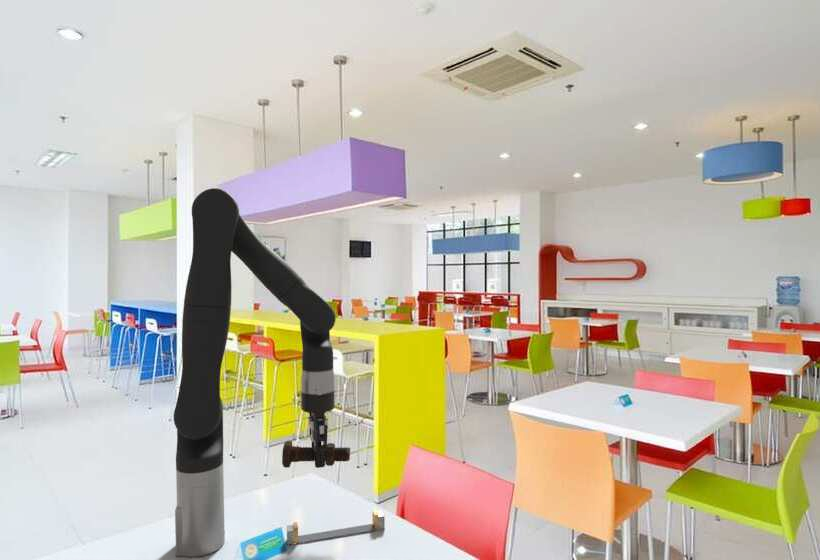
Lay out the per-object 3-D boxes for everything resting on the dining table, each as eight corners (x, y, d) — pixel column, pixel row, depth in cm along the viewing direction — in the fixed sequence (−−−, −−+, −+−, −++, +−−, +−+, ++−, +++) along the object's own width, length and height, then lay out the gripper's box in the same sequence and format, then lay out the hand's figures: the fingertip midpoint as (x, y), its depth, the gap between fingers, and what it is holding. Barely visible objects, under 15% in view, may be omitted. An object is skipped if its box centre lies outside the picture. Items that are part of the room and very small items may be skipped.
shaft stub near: (287, 545, 106) (287, 529, 106) (286, 539, 109) (286, 523, 109) (298, 543, 107) (297, 527, 107) (297, 537, 109) (296, 521, 109)
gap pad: (298, 544, 107) (298, 542, 107) (297, 537, 110) (297, 536, 110) (374, 531, 112) (374, 529, 112) (371, 525, 114) (371, 523, 114)
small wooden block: (375, 530, 112) (374, 515, 112) (372, 525, 114) (372, 510, 114) (384, 529, 113) (384, 513, 113) (381, 523, 115) (381, 508, 115)
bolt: (349, 471, 115) (282, 471, 114) (350, 454, 120) (286, 453, 118) (349, 454, 112) (281, 454, 111) (350, 437, 117) (284, 436, 116)
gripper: (298, 383, 121) (298, 452, 121) (304, 397, 107) (304, 476, 108) (329, 381, 123) (329, 449, 123) (339, 394, 109) (339, 471, 110)
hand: (318, 461), depth 115 cm, fingers closed on bolt, 5 cm apart
